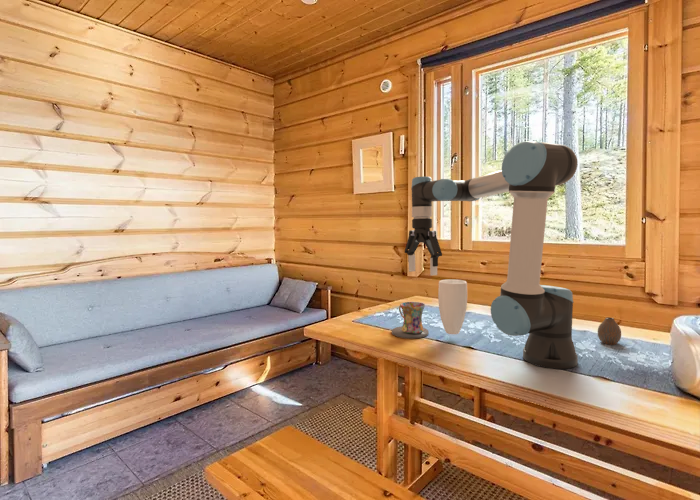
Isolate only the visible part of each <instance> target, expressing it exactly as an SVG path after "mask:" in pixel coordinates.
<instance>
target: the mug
mask: <svg viewBox="0 0 700 500" xmlns="http://www.w3.org/2000/svg"><path fill="white" fill-rule="evenodd" d="M425 307H426V304H425V303H424V302H419V301H406V302H405V301H404V302H402V303H400V304H399V307H398V312H399V314H400V316H401V317H402V318H403V323H402V326H403V327H402V331H403V332H405V333H409V334H417V333H421V332H423V331H424V328H425V327H424V326H423V322H422V320H423V319H422V318H423V317H422V316H423V312H424V309H425Z"/></svg>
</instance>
